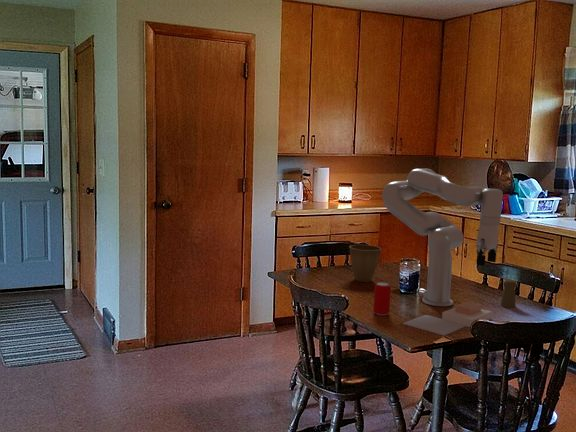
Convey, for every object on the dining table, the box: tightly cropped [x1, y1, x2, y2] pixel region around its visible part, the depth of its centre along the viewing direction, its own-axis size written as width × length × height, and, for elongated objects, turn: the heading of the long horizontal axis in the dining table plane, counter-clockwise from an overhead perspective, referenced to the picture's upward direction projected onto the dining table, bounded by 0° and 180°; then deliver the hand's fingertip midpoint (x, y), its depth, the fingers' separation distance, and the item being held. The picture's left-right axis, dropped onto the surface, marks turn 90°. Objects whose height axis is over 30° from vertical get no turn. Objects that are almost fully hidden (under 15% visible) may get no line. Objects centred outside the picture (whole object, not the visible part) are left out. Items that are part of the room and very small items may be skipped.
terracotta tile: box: [455, 300, 483, 315], centre depth 234 cm, size 6×9×2 cm, turn 136°
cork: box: [499, 279, 517, 309], centre depth 253 cm, size 6×6×11 cm
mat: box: [402, 314, 466, 337], centre depth 225 cm, size 17×16×1 cm
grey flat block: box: [441, 306, 492, 328], centre depth 234 cm, size 12×16×3 cm
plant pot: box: [349, 244, 382, 283], centre depth 288 cm, size 15×15×16 cm
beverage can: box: [373, 282, 392, 317], centre depth 236 cm, size 6×6×12 cm
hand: (486, 263), depth 240 cm, fingers open, 9 cm apart
